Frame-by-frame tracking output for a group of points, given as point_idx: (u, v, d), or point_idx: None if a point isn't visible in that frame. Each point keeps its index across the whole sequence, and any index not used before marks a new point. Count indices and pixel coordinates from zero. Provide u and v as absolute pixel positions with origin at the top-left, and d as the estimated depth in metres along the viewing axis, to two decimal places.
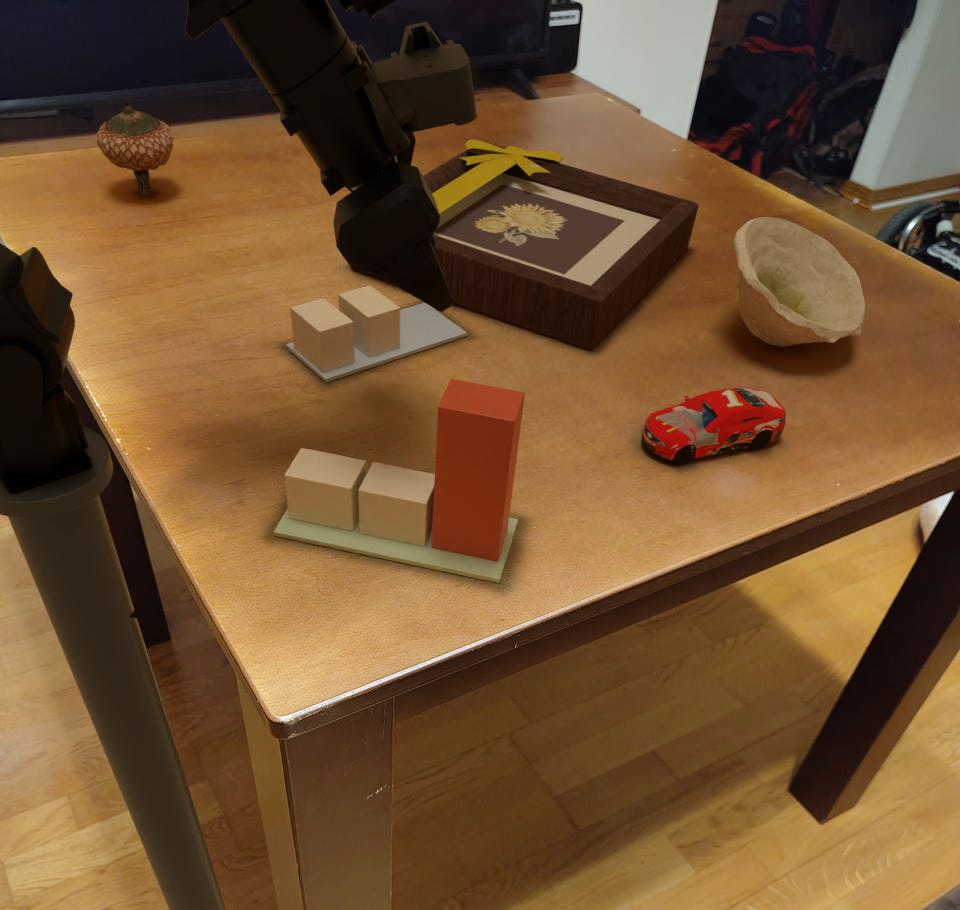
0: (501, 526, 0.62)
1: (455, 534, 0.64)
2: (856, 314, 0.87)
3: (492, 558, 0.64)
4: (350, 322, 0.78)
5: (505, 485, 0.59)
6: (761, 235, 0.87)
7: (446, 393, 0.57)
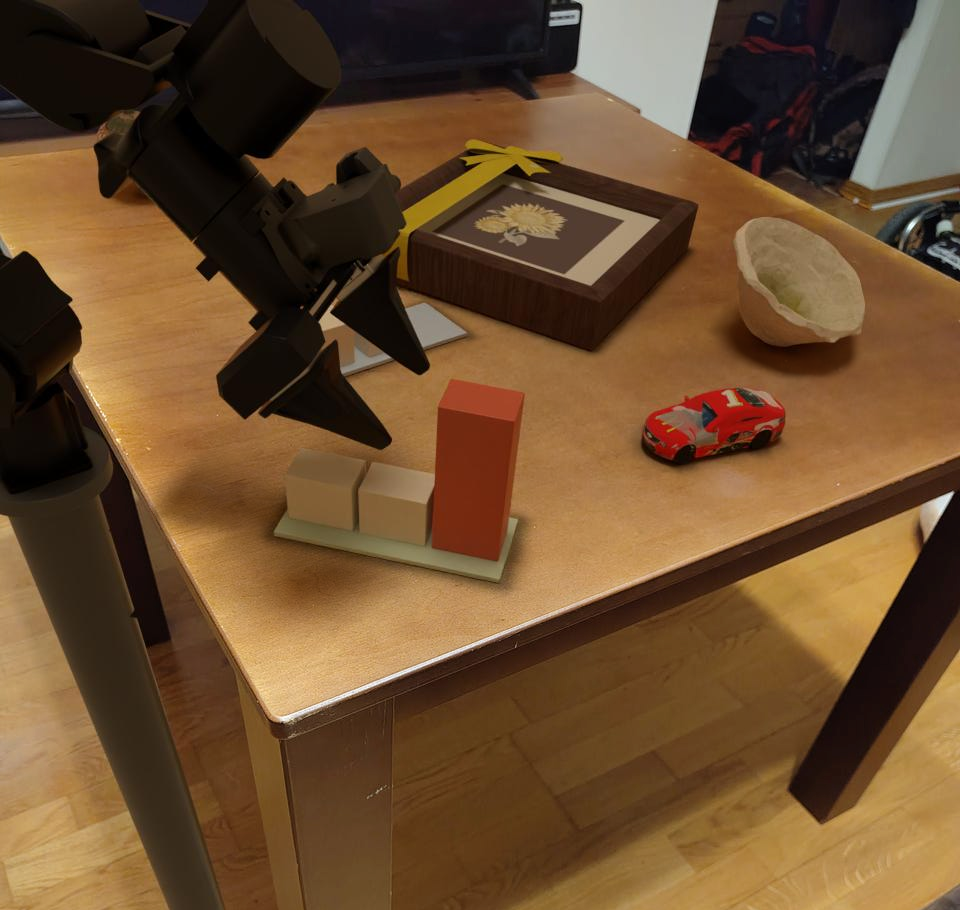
0: (501, 526, 0.62)
1: (455, 534, 0.64)
2: (856, 314, 0.87)
3: (492, 558, 0.64)
4: None
5: (505, 485, 0.59)
6: (761, 235, 0.87)
7: (446, 393, 0.57)
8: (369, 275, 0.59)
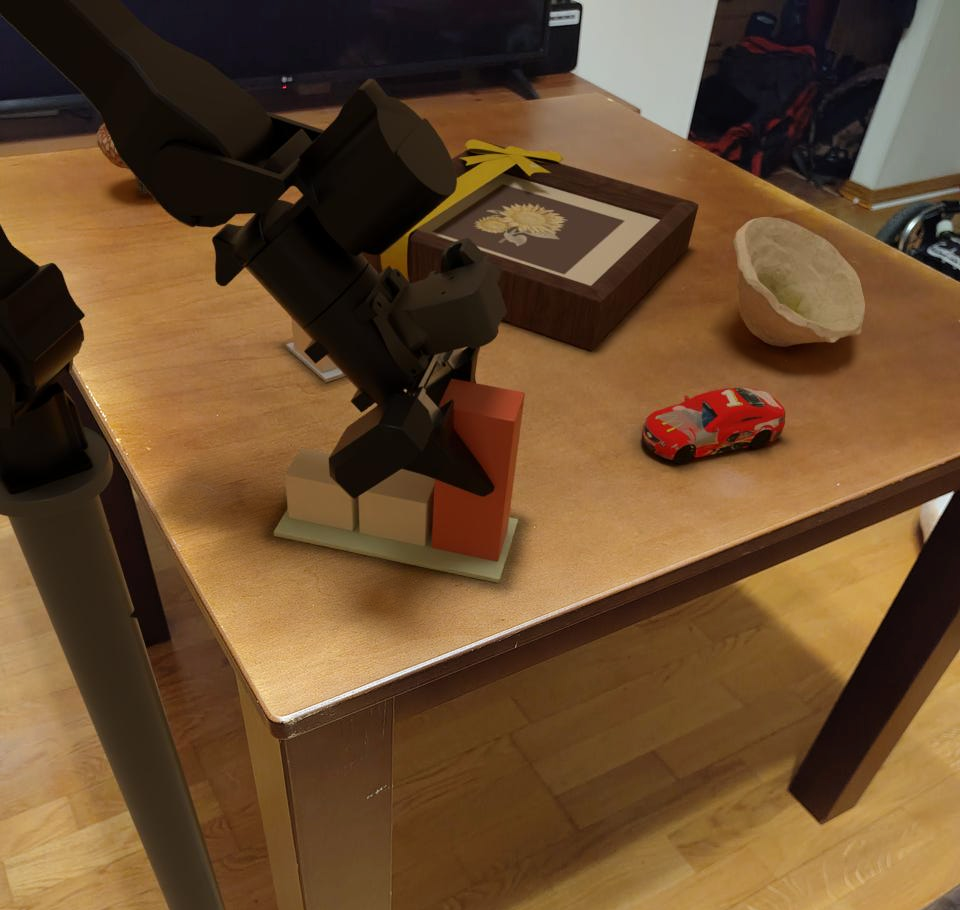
0: (501, 526, 0.62)
1: (455, 534, 0.64)
2: (856, 314, 0.87)
3: (492, 558, 0.64)
4: None
5: (505, 485, 0.59)
6: (761, 235, 0.87)
7: (446, 393, 0.57)
8: (450, 370, 0.59)
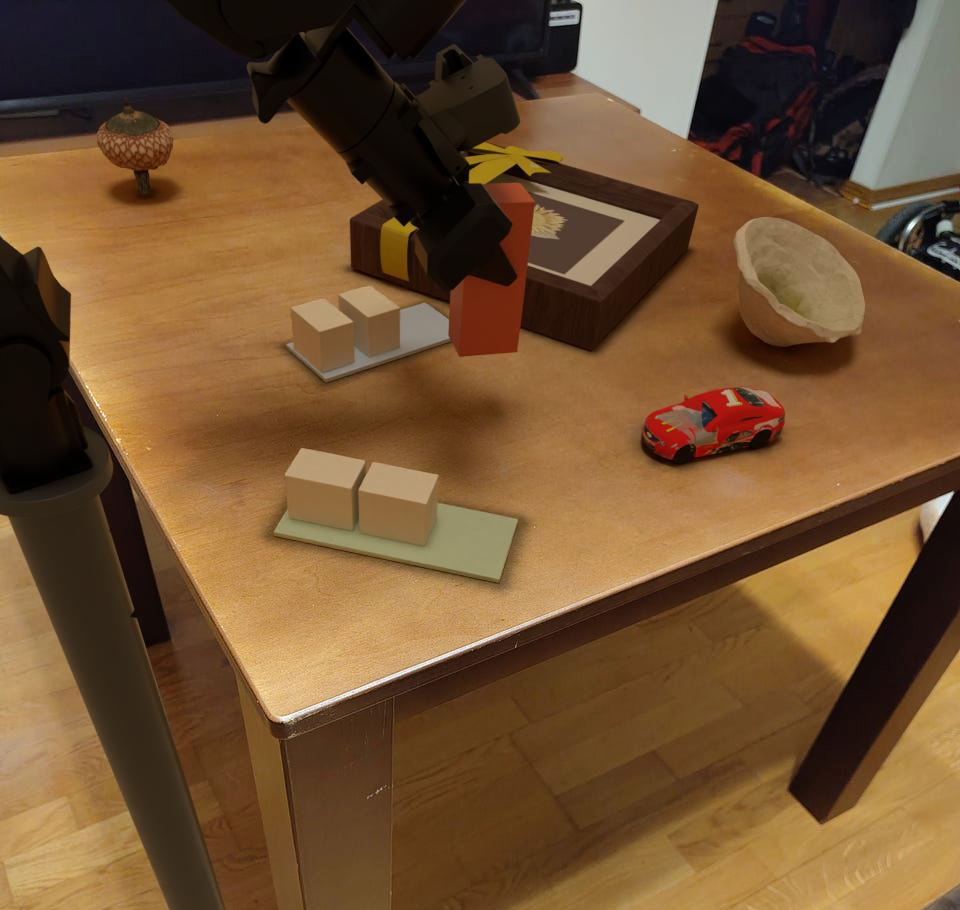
0: (521, 314, 0.71)
1: (480, 335, 0.71)
2: (856, 314, 0.87)
3: (513, 350, 0.73)
4: (350, 322, 0.78)
5: (526, 270, 0.68)
6: (761, 235, 0.87)
7: None
8: None
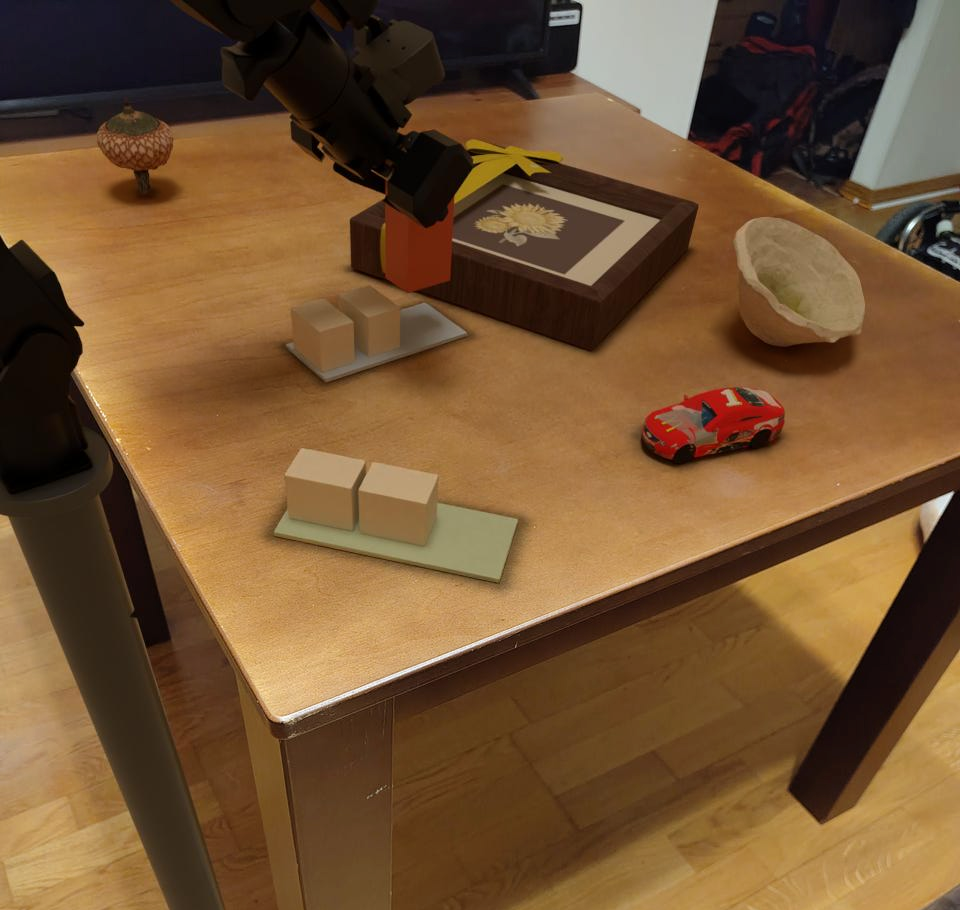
0: (451, 245, 0.81)
1: (422, 270, 0.81)
2: (856, 314, 0.87)
3: (447, 279, 0.83)
4: (350, 322, 0.78)
5: (453, 204, 0.78)
6: (761, 235, 0.87)
7: None
8: None
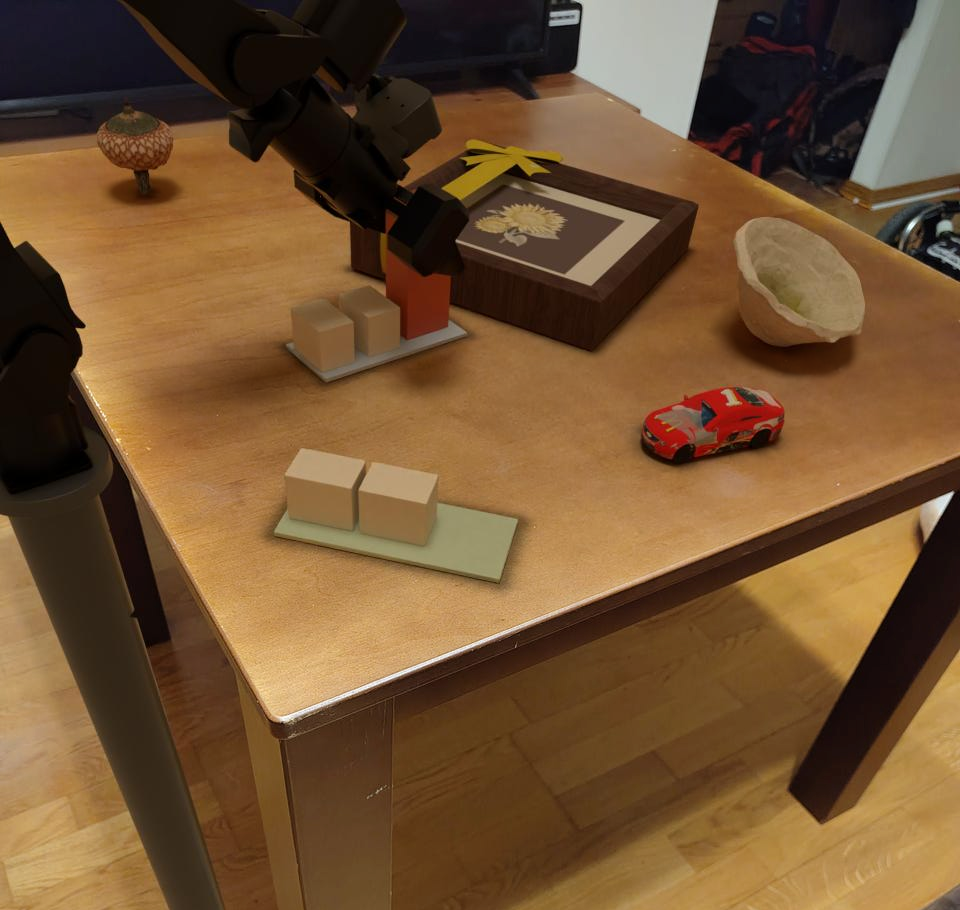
0: (449, 294, 0.84)
1: (421, 318, 0.84)
2: (856, 314, 0.87)
3: (445, 325, 0.87)
4: (350, 322, 0.78)
5: None
6: (761, 235, 0.87)
7: None
8: None
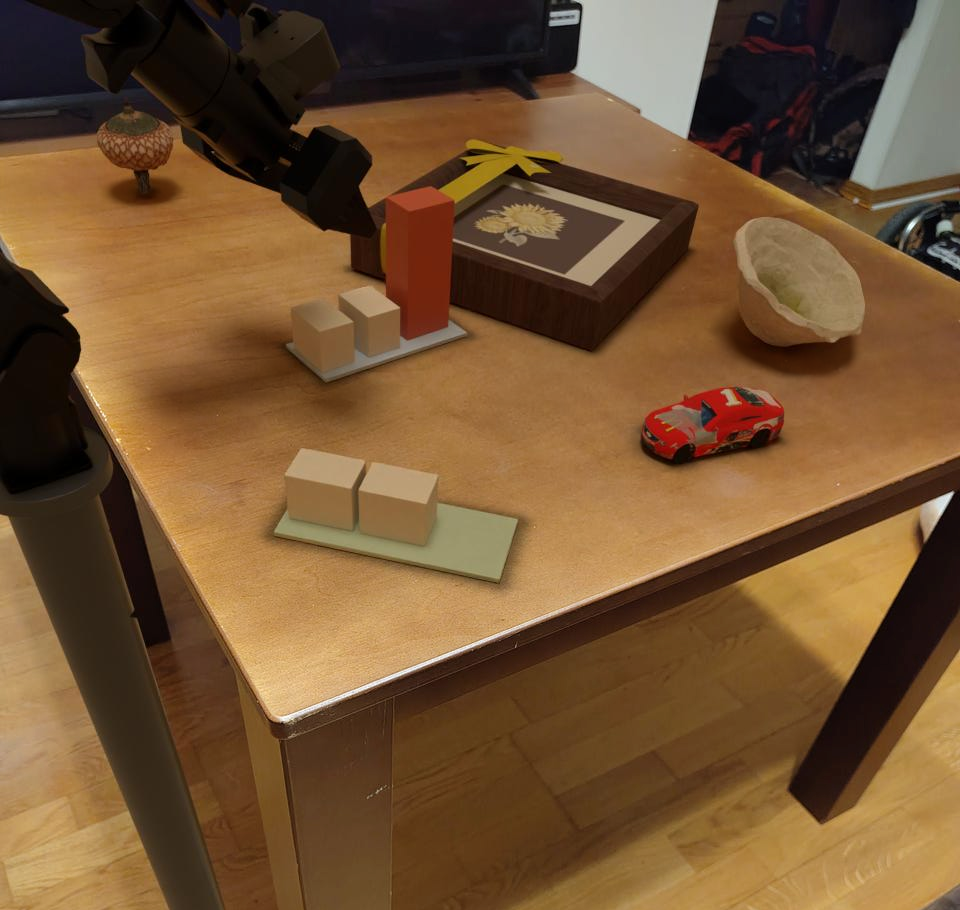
0: (449, 294, 0.84)
1: (421, 318, 0.84)
2: (856, 314, 0.87)
3: (445, 325, 0.87)
4: (350, 322, 0.78)
5: (451, 257, 0.82)
6: (761, 235, 0.87)
7: (399, 204, 0.77)
8: None
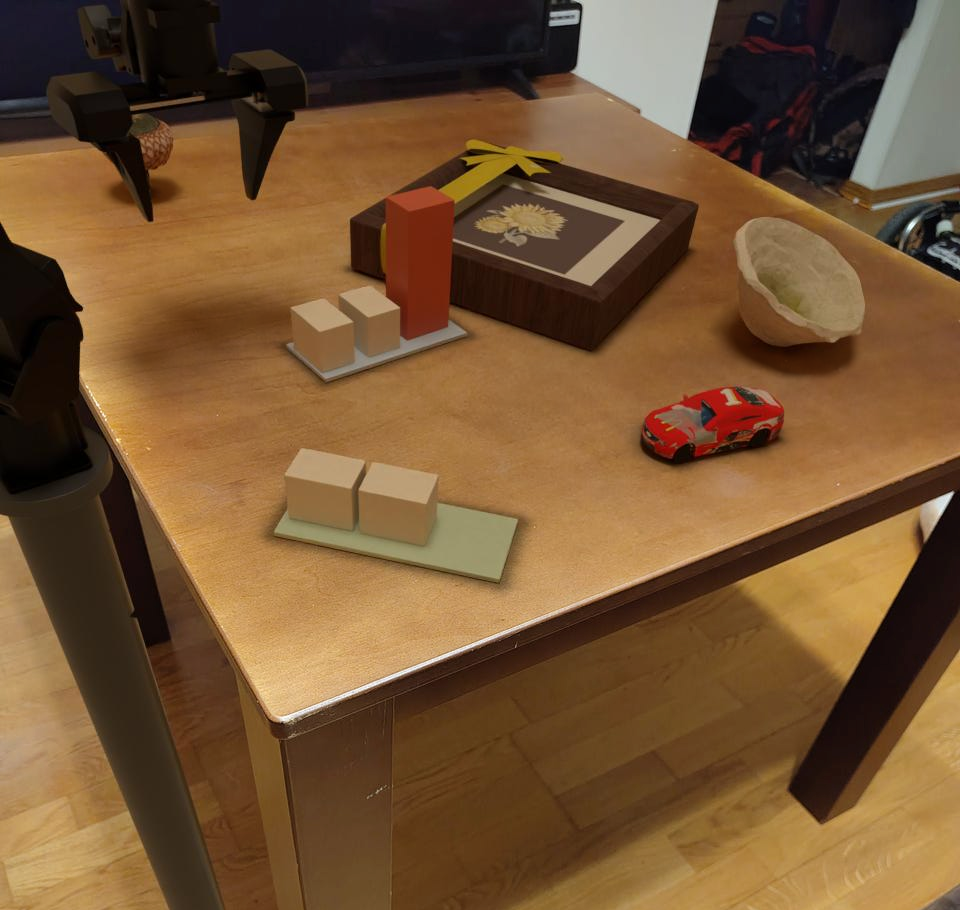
0: (449, 294, 0.84)
1: (421, 318, 0.84)
2: (856, 314, 0.87)
3: (445, 325, 0.87)
4: (350, 322, 0.78)
5: (451, 257, 0.82)
6: (761, 235, 0.87)
7: (399, 204, 0.77)
8: None
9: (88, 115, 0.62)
